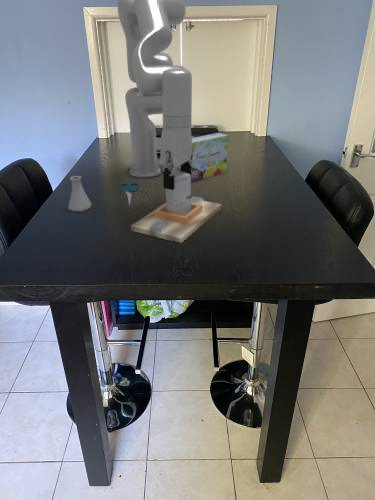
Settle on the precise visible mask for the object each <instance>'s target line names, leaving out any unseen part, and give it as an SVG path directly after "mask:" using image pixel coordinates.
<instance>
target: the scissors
mask: <svg viewBox="0 0 375 500" xmlns="http://www.w3.org/2000/svg"><path fill="white" fill-rule="evenodd" d="M123 186H127V188H122V187H123ZM131 186H137V187H135V188H132V187H131ZM139 187H140V185H139V183H137V182H132V183H130V184H129V183H121V184H120V185H119V189H120V191H121V192H123V193H125V195H127V199H128V205H129V206H131V200H132V195H133V194H132V193H135V192H138V190H139Z"/></svg>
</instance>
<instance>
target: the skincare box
mask: <svg viewBox="0 0 375 500" xmlns="http://www.w3.org/2000/svg"><path fill="white" fill-rule="evenodd" d="M173 176H174V187H175V189H174V190H170V189H165V196H166V198H165V199H166V201H165V203H166V204H167V212H168V213H172V214H177V215H182V216H185V215H186V214H188V213H189V212H190V211H191V197H192V196H191V195H192V194H191V193H192V192H191V191H192V190H191V183H192V182H191V175H190V174H188V173H185V172H178V171H177V172H174V173H173Z"/></svg>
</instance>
